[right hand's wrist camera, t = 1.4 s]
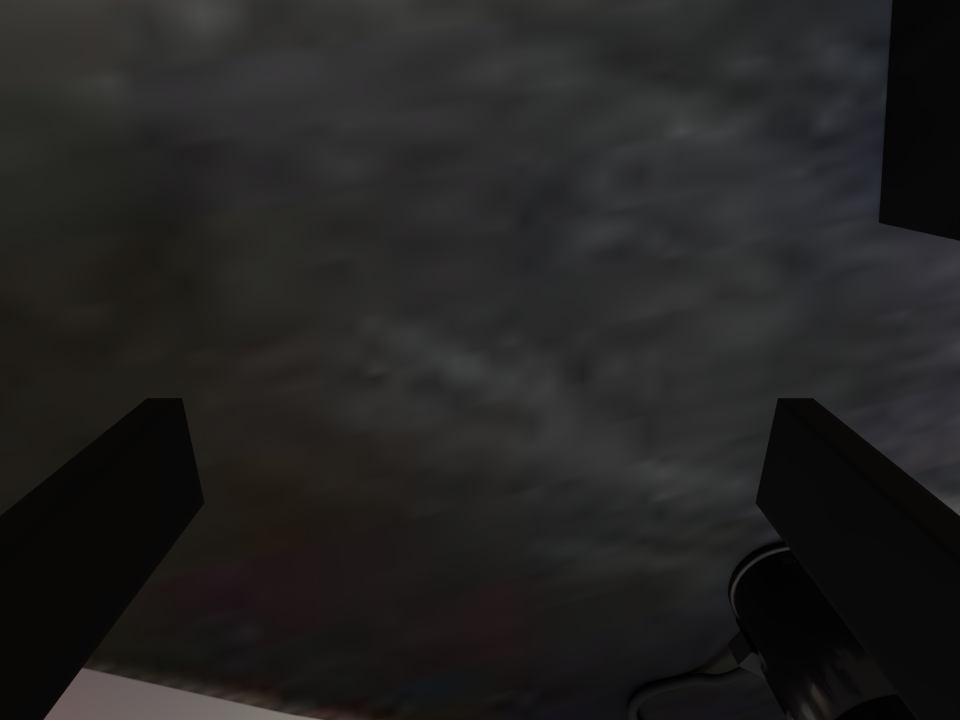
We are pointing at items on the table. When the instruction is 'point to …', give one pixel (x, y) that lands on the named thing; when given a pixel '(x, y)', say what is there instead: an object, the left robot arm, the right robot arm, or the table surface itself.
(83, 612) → the right robot arm
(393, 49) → the table surface
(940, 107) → the bar
